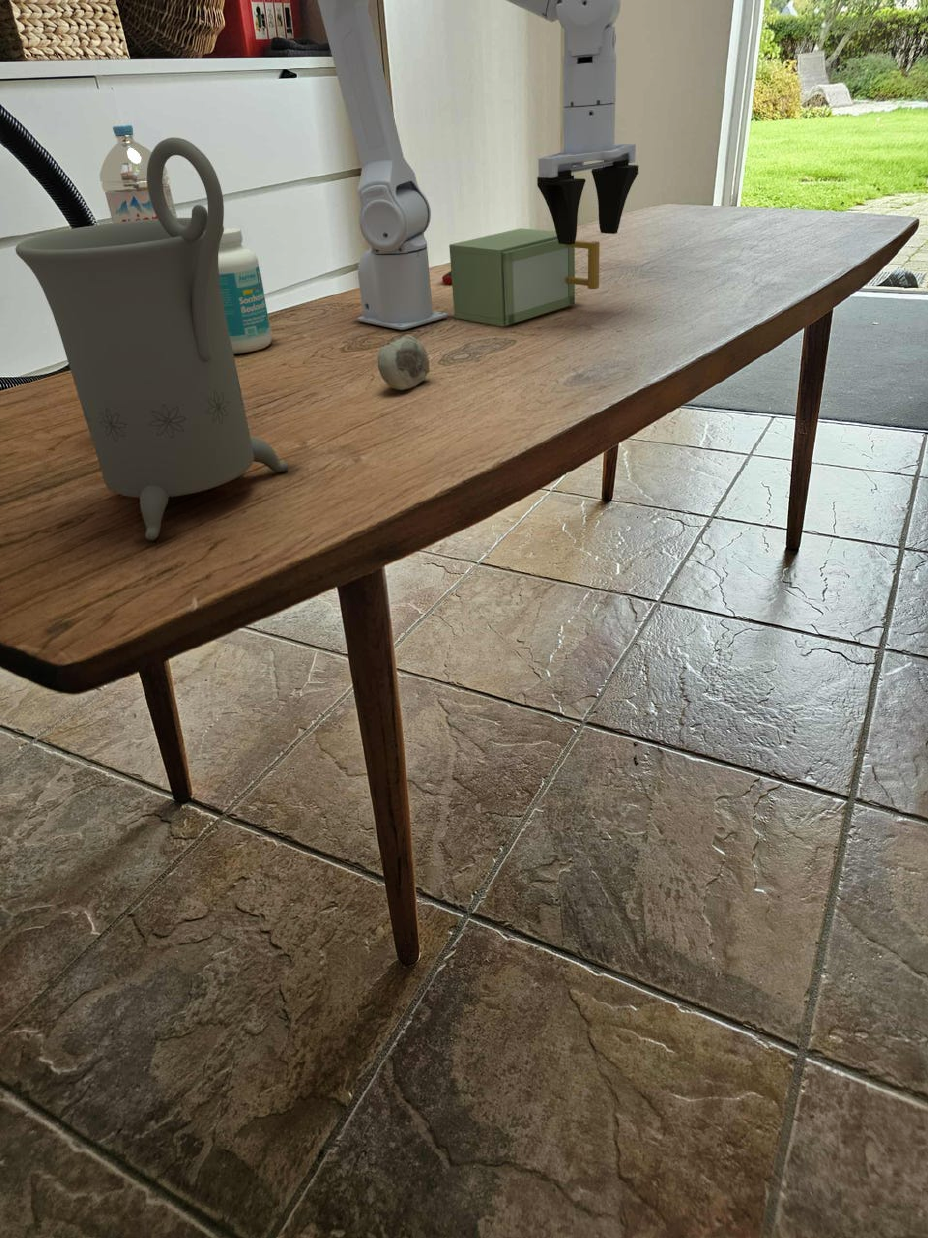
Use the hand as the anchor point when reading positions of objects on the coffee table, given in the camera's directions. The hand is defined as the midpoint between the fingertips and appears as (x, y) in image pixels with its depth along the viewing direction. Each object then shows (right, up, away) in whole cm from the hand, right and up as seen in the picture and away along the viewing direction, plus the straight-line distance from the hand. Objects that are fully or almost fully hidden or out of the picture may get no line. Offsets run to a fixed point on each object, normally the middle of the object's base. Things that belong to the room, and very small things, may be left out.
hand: (588, 238), depth 103 cm
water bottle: (-48, -16, -1) cm, 50 cm away
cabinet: (-8, -4, +12) cm, 15 cm away
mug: (-36, -35, -33) cm, 61 cm away
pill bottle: (-42, -11, +6) cm, 44 cm away
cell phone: (-12, +9, +34) cm, 38 cm away
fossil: (-21, -21, -13) cm, 32 cm away
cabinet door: (-3, -7, +7) cm, 10 cm away
